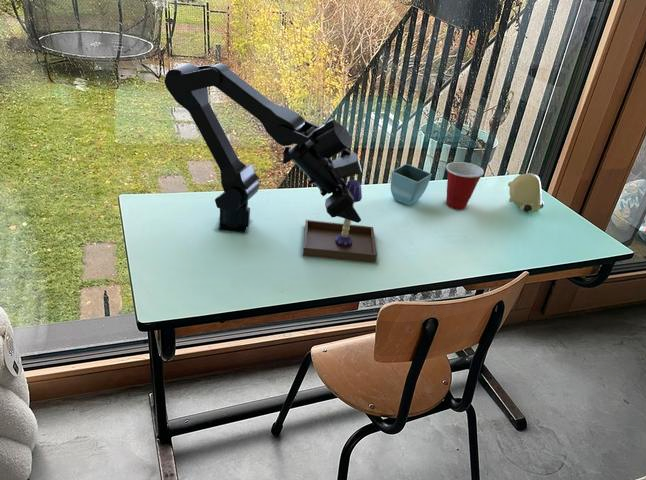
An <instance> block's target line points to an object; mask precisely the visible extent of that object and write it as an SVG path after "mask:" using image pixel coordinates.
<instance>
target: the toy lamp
mask: <svg viewBox="0 0 646 480" xmlns="http://www.w3.org/2000/svg"><path fill="white" fill-rule="evenodd" d="M345 188H347V189H348V190H349V191H350V192H351V194H352V195H353V198H354V203H353V206H354V207H355V203H359V202H361V201H362V198H363V194H362V193H363V192H362V183H361V182H360V181H359V180H357V179H349V180H348V181H347V182H346V187H345ZM342 224H344V225H343V228H342V229H343V231H342V233H341V235H339V236H337V238H336V239H335V242H336V244H337V245H339V246H341V247H349V246H351V245H352V239H351V237H350V236H348V231H349V229H350V227H349V226H350V225H352V221H351V220H348V219H345V218H344V220H343V223H342Z"/></svg>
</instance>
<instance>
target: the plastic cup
mask: <svg viewBox="0 0 646 480" xmlns="http://www.w3.org/2000/svg"><path fill="white" fill-rule="evenodd" d="M445 169H446V173H447V182H446V183H447V184H446V198H445V200H446V203H445V204H446V206H448V207H449V208H451V209H453V210H459V211H460V210H461V211H462V210H465V208H466V207H467V206H468V203H469V201H470V199H471V198H472V196H473V193H474V191H475V189H476V187H477V185H478V183H479V181H480V180H481V177H482V176H483V175H484V173H485V171H484V169H483V168H482V167H481V166H479V165H476V164H475V163H470V162H463V161H452V162H449V163H447V164H446V165H445Z"/></svg>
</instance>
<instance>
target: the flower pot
mask: <svg viewBox="0 0 646 480" xmlns="http://www.w3.org/2000/svg"><path fill="white" fill-rule="evenodd" d="M431 177H432V173H431V172H429V171H425V170H423V169H422V168H419V167H416V166H414V165H411V164H408V163H405V164H402V165H401V166H399V167H397V168H395V169H393V170H392V171H391V174H390V193H391V196H392V198H393V200H395V201H397V202H399V203H401V204H403V205H406V206H408V207H410V206H412V205H413V204H414V203H416V202H417V201H418V200H419V199H420V198H421V197H422V196H423V195H424V193H425V192H426V190H427V188H428V185H429V183H430V181H431Z"/></svg>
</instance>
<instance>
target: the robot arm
mask: <svg viewBox="0 0 646 480" xmlns="http://www.w3.org/2000/svg"><path fill="white" fill-rule="evenodd" d="M163 81H164V82H163V83H164V87H165V88H166V90H167V92H168V93H169V94H170V96H171V97H172V98H173V100H174V101H175V102H176V103H177V104H178V105H180V107H182V108H183V109H185V110H186V111H187V112H188V114H189V115H190V117H191V119H192V121H193V122H194V124H195V127H196V128H197V130H198V131H199V133H200V135H201V138H202V139H203V141H204V143H205V144H206V146H207V149H208V151H209V152H210V153H211V155H212V157H213V159H214V161H215V164H216V165H217V167H218V169H219V172H220V184H221V188H222V190H223V192H222V193H221V194H219V195H218V196H217V197H216V198H215V199H214V202H215V206H216V208H218V209H219V223H218V226H217V227H218V231H223V232H224V231H225V232H232V233H244V234H245V233H246V232H247V228H248V227H250V220H251V207H250V206H249V200H250V199H252V198H253V196H255V195H256V194H257V193H258V191H259V189H260V182H259V180H260V176H259V175H257V173H256V171H255V169H254V165H253V164H252V163H248V164H247V165H246V164H245V163H243V162H242V161H241V160H240V159H239V157H238V155H237V154H236V152H235V149H234V148H233V146H232V144H231V142H230V140H229V138H228V136H227V135H226V133H225V130H224V129H223V127H222V125H221V122H220V121H219V119H218V117H217V115H216V113H215V112H214V109H213V108H212V105H211V104H210V101H209V89H208V88H211V87H215V88H216V89H217V90H219V91H220V92H222V93H223V94H224V95H225V96H227V97H228V98H229V99H231V100H232V102H234V103H236V104H237V105H239V107H241V108H242V109H244V111H247V112H248V113H249V114H250V115H252V116H253V117H254V118H255V119H257V120H258V121H259V122H260V123H261V125H262V127H263V129H264V130H265V132H266V133H267V134H268V135H269V137H271V139H272V140H273V141H274V142H275V143H276V144H278V145H279V146H282V147H284V148H283V152H282V155H283V159H282V164H283V165H287V163H289V162H291V161H292V162H293V163H294V164H296V166H297V167H298V168H299V169H300V170H301V171H302V172H303V173H304V174H305V175H306V176H307V178H308V182H309V183H310V184H311V185H312V184H314V185H315V187H317V188H318V189H319V193H320V195H321V196H322V197H325V196H326V195H327V194H328V195H329V196H328V197H327V198H326V199H325V202H324V207H325V210H326V213H327V214H328V215H329V216H330V217H331V218H336V217H338V218H342V219H344V220H345V219H348V220H351V222H353V223H359V224H360V222H361V221H362V218H361V216H360V215H359V213H358V212H357V209H356V208H355V205H354V206H353V203H354V198H353V195H352V194H351V192H350V191H349V190H348V189H347V188H345V187H346V185H347V182H346V178H350V177H352V176H355V175H360V174H361V173H362V172H363V169H362V166H361V163H360V160H359V157H358V155H357V153H356V152H355V151H351V150H349V148H351V147H352V143H353V142H352V138H351V135H350V133H349V131H348V129H347V128H345V127H344V126H343V125H342V124H341V123H339V122H337V120H336V119H335V118H331V119H329V120H328V121H327V122H326V123H324V124H323V125H322V126H319V125H316V124H315V123H312V122H310V121H309V120H305V119H304V117H303V116H302V115H301V114H300V113H298V112H296V111H294V110H293V109H291V108H289V107H287V106H283V105H280V104H277V103H275V102H273V101H271V100H270V99H269V98H267V96H265V95H264V94H263V93H261V92H260V91H258V90H257V89H256V88H255V87H253V86H252V85H251V84H250V83H248V82H246V81H245V80H244V79H243V78H242V77H240V76H239V75H237V74H236V73H235V72H234V71H232V70H231V68H230V67H229V66H228V65H227V64H225V63H221V62H220V63H215V64H206V65H199V66H197V65H195V64H193V63H185V64H182V65H179V66H177V67H174V68H172V69H169V70H168V71H167V72H166V74H165V76H164V80H163ZM338 154H339V155H338ZM337 155H338V156H337ZM335 156H336V159H333V160H332V159H331V158H333V157H335ZM330 194H331V195H330ZM354 204H355V203H354Z"/></svg>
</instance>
